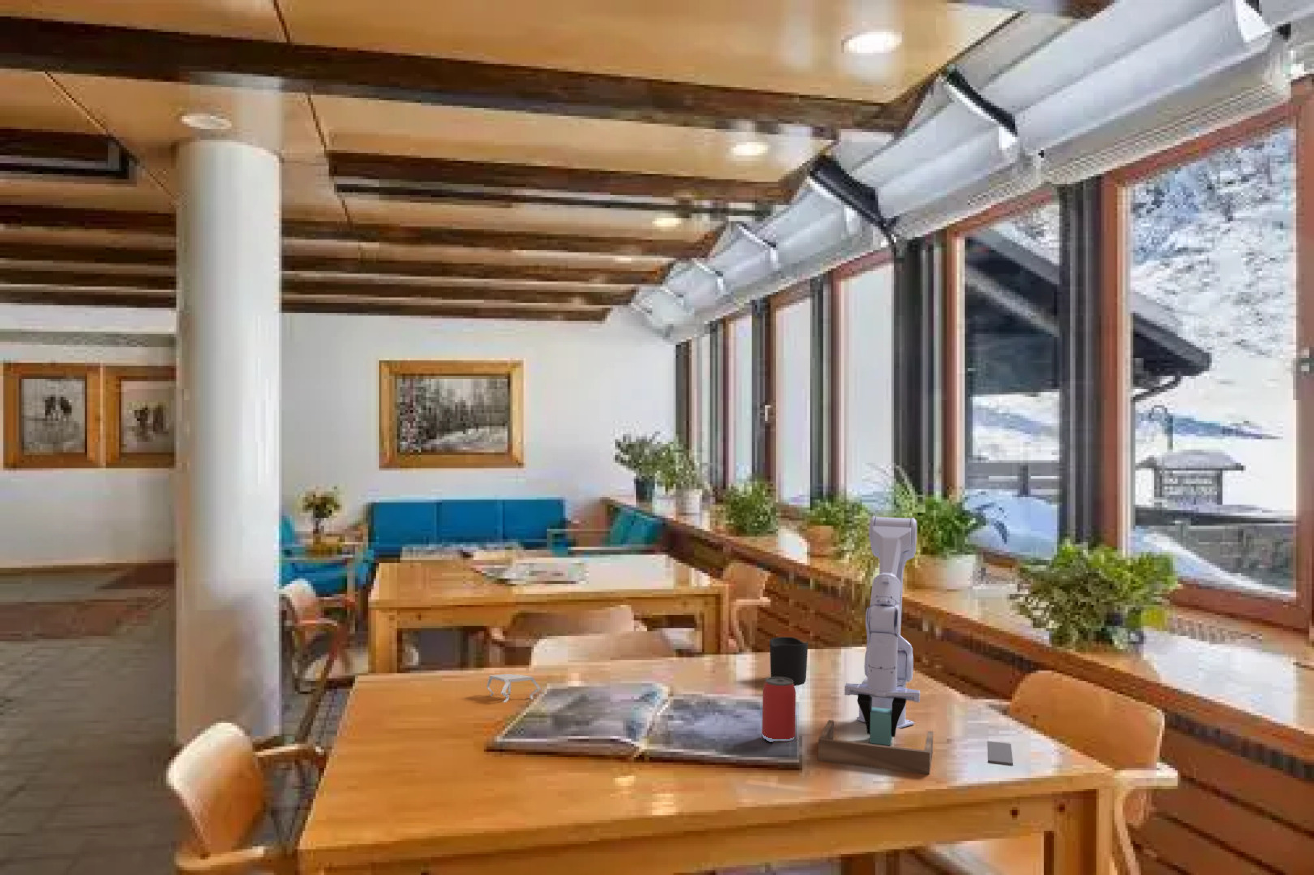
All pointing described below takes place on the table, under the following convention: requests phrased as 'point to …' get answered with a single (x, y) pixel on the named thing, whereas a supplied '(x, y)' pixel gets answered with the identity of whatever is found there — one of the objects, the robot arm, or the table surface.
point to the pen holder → (788, 659)
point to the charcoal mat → (999, 753)
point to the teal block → (880, 726)
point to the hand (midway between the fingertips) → (881, 734)
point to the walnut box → (874, 753)
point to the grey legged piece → (508, 679)
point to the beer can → (778, 708)
